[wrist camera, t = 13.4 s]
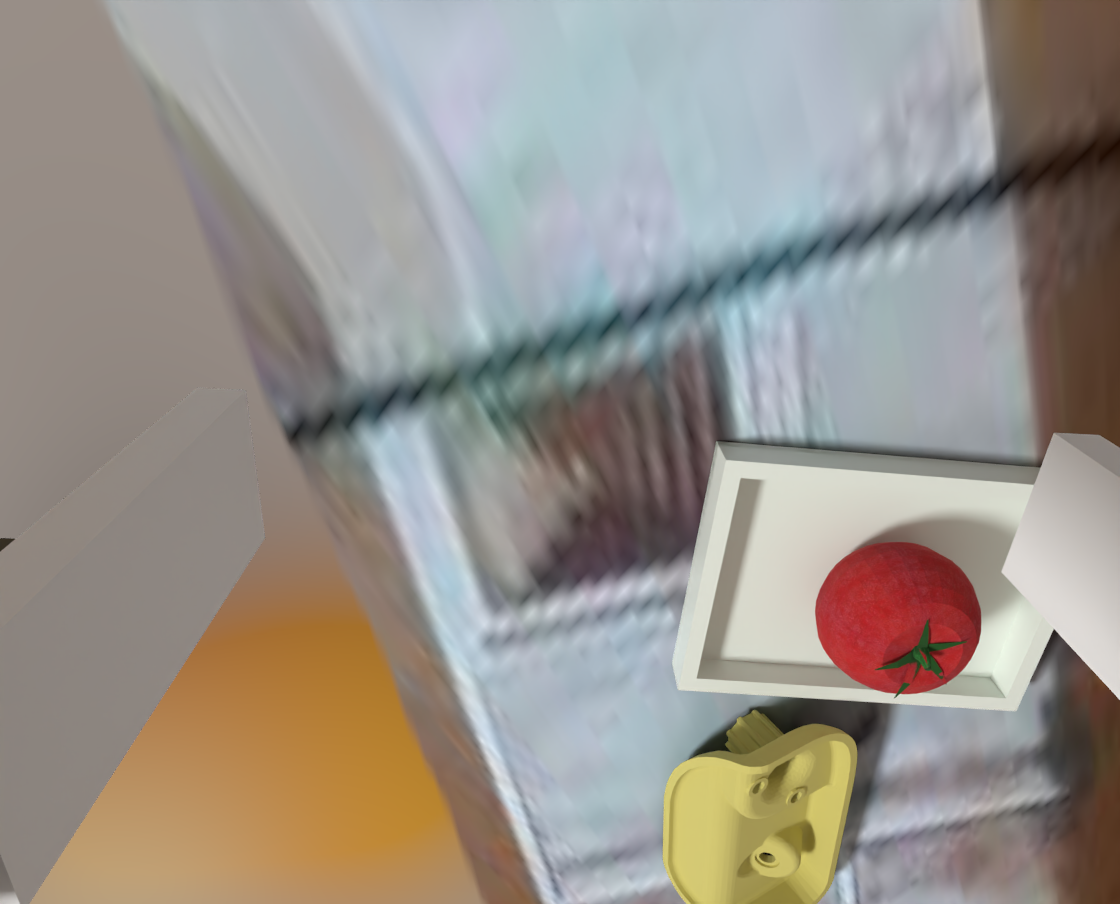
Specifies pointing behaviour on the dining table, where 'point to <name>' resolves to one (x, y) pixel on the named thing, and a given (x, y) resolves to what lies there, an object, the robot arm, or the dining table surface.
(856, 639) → the tomato
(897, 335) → the dining table surface
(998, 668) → the tray
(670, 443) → the dining table surface
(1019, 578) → the robot arm
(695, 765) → the plastic component
